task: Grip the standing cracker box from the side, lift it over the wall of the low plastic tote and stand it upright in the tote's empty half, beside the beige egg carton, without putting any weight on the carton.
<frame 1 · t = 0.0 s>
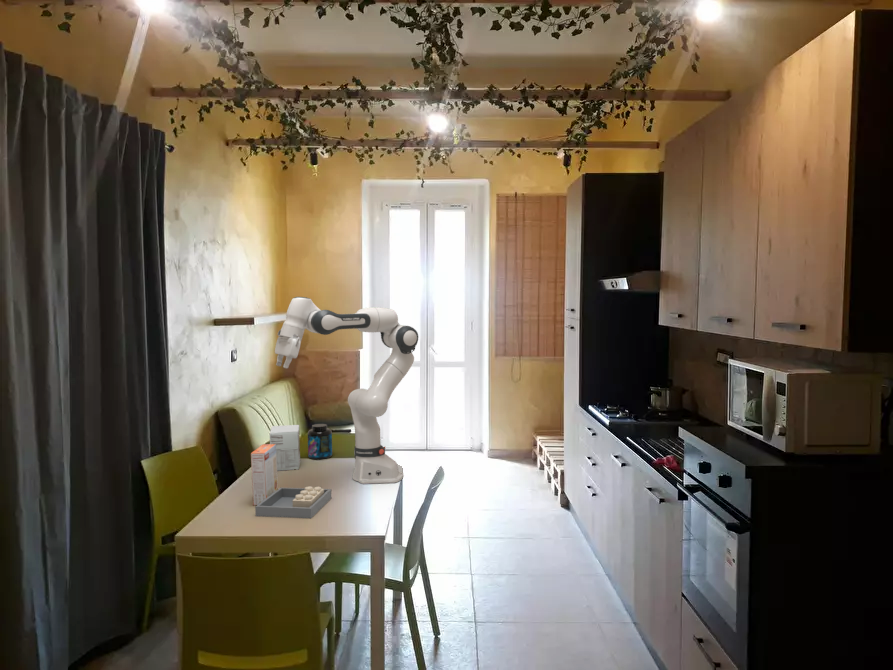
hand: (281, 367, 241), 52 cm above the table, tool tilted 20°, fingers open, 8 cm apart
egg carton: (309, 507, 223), point 1 cm above the table, touching tote
tote: (295, 509, 224), on the table
cracker box: (265, 500, 235), on the table
container: (320, 457, 300), on the table
supplement box: (285, 466, 285), on the table
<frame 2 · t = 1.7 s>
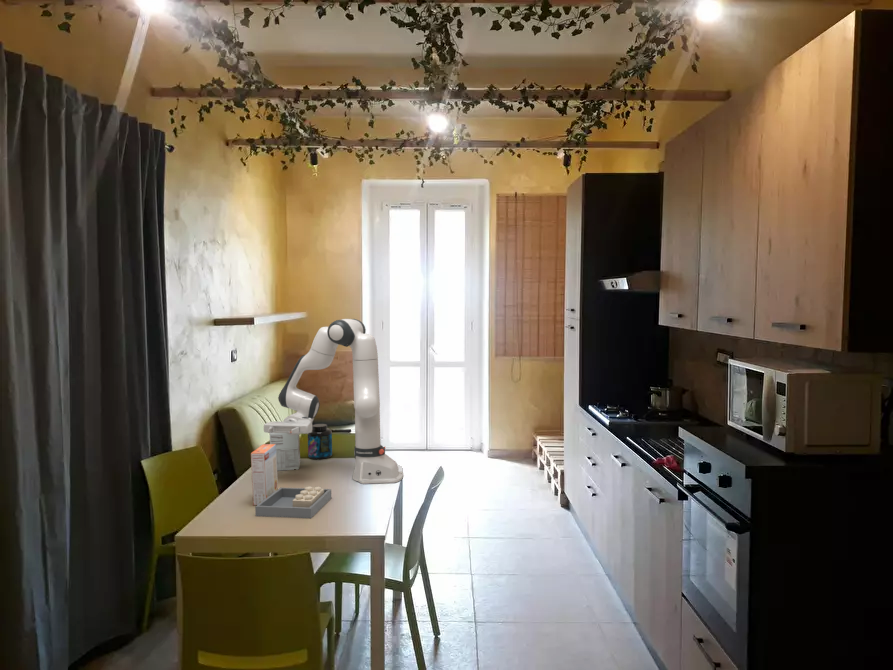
hand: (280, 431, 250), 24 cm above the table, tool horizontal, fingers open, 8 cm apart
nothing on the table moved.
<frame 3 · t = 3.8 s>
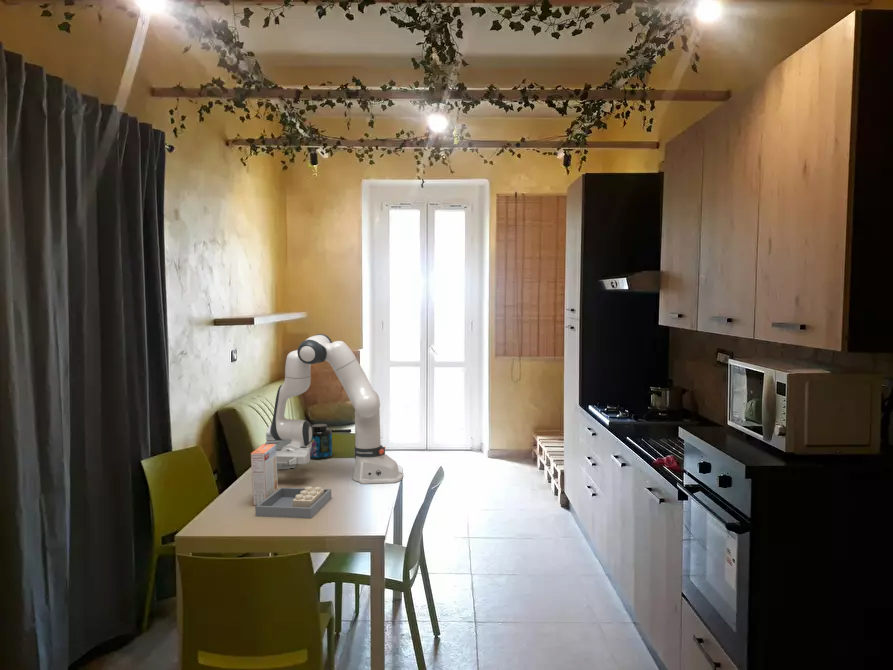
hand: (277, 462, 247), 11 cm above the table, tool horizontal, fingers open, 8 cm apart
supplement box: (282, 465, 286), on the table
everything else where it was.
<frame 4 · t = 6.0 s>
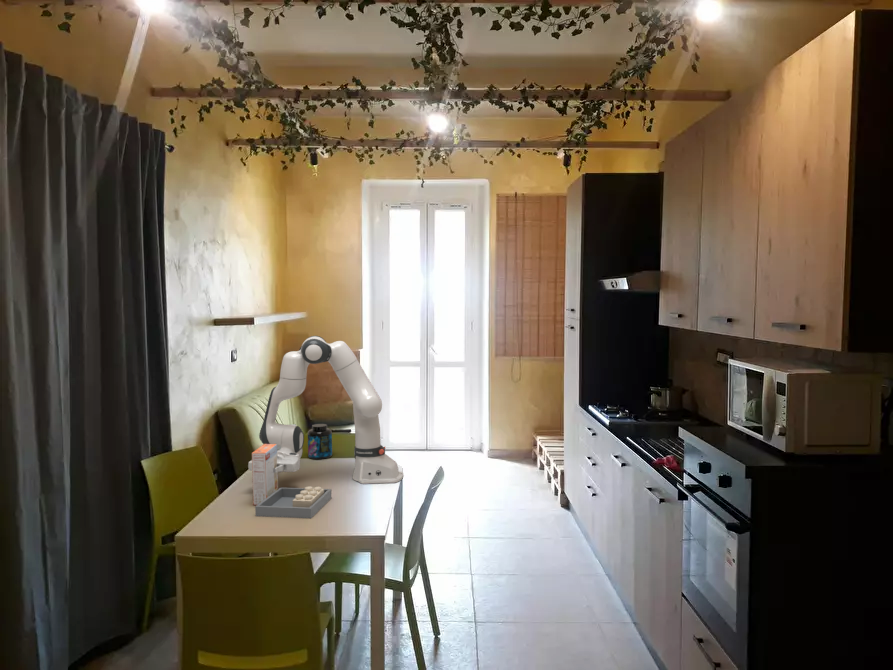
hand: (265, 470, 236), 12 cm above the table, tool horizontal, fingers closed on cracker box, 6 cm apart
cracker box: (265, 500, 235), on the table, touching gripper
everything else where it was.
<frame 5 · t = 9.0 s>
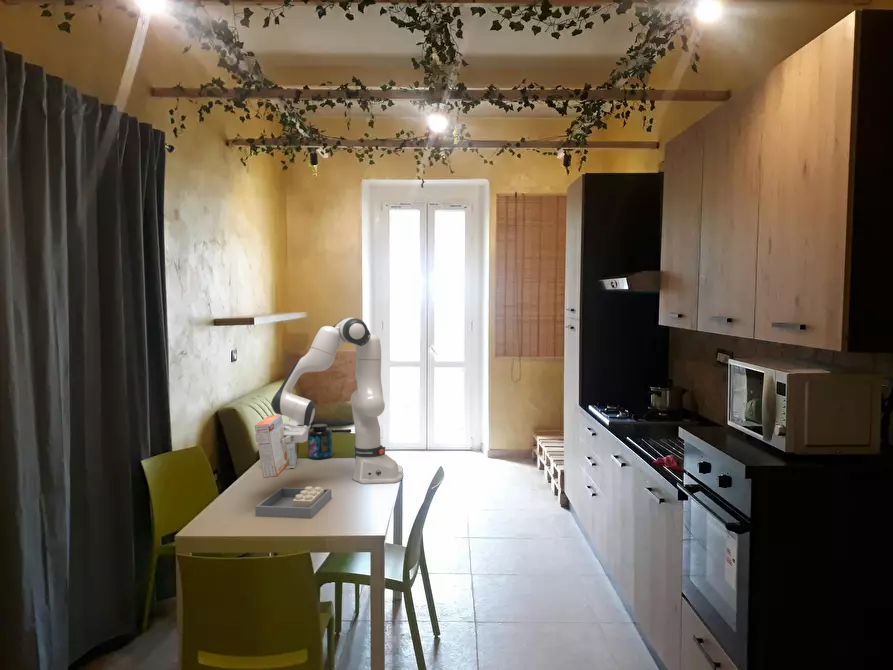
hand: (272, 441, 230), 24 cm above the table, tool horizontal, fingers closed on cracker box, 6 cm apart
cracker box: (276, 471, 230), point 12 cm above the table, touching gripper
everything else where it was.
when the fingers open (14 cm above the table, at t = 12.1 s): cracker box moves 2 cm, resting on tote.
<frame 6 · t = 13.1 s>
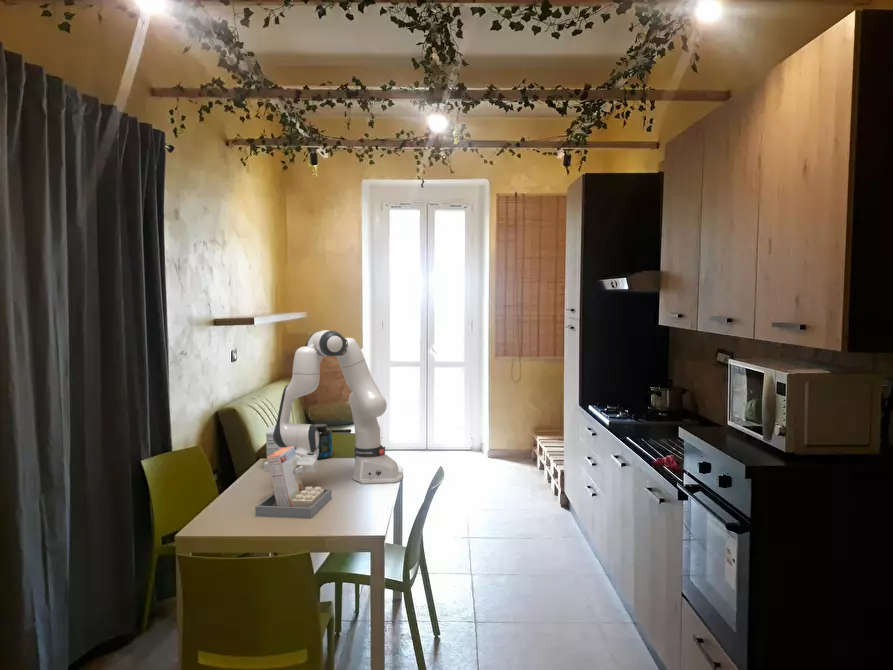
hand: (282, 471, 225), 14 cm above the table, tool horizontal, fingers open, 8 cm apart
cracker box: (291, 505, 225), point 1 cm above the table, touching tote
everything else where it was.
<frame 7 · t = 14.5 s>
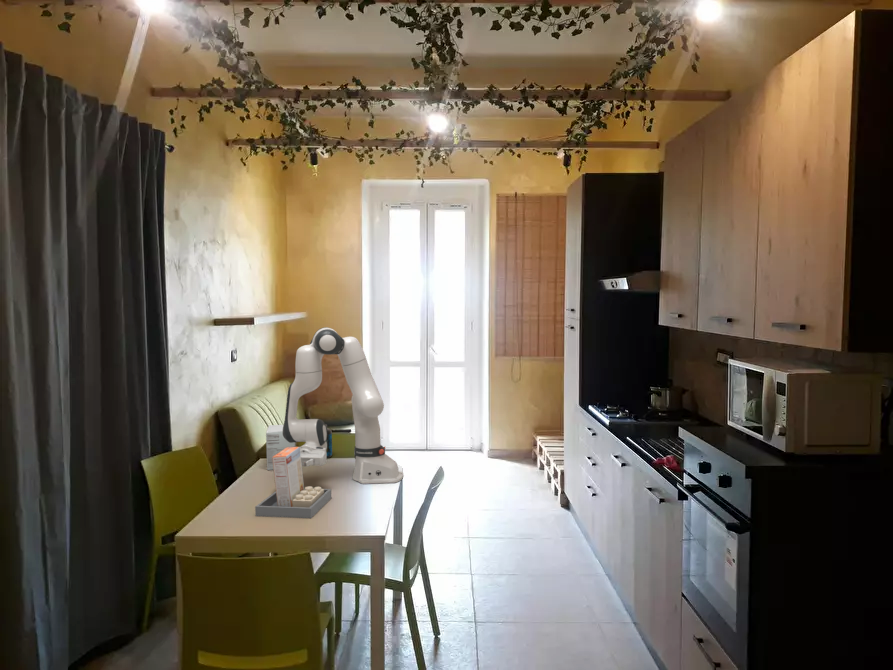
hand: (294, 464, 235), 14 cm above the table, tool horizontal, fingers open, 8 cm apart
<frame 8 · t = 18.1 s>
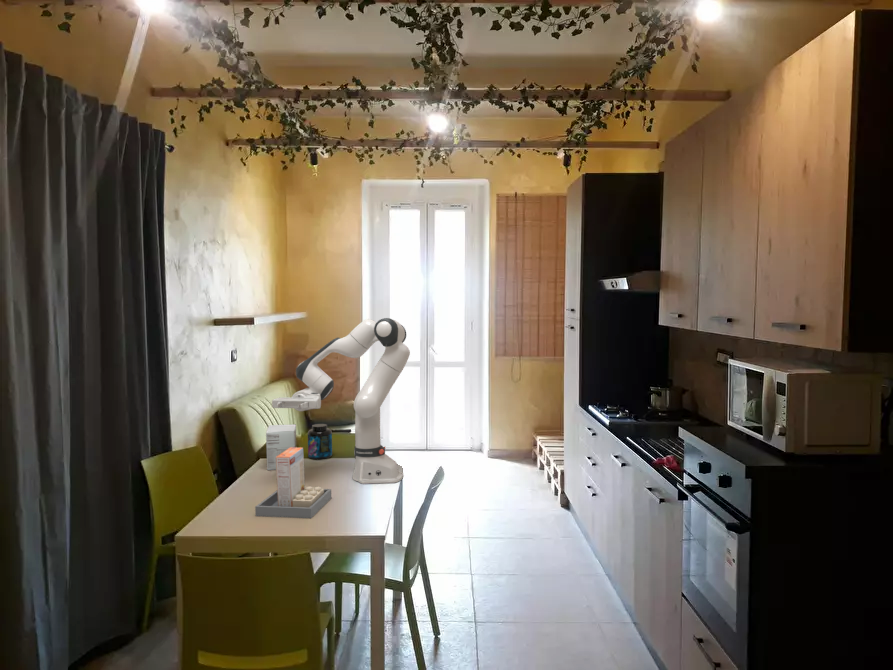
hand: (289, 406, 247), 35 cm above the table, tool horizontal, fingers open, 8 cm apart
at the end: cracker box inside the target area (3.5 cm from its centre), point 0.8 cm above the table; cracker box tilted 0°; egg carton moved 0.0 cm from its start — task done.
